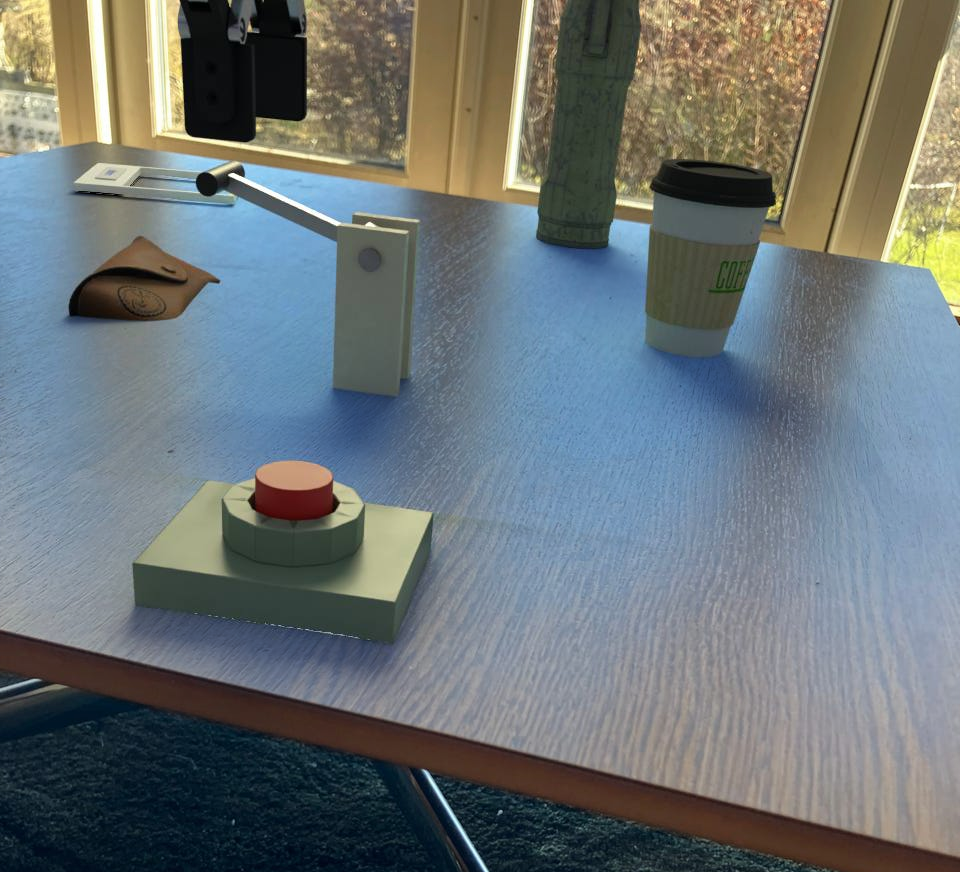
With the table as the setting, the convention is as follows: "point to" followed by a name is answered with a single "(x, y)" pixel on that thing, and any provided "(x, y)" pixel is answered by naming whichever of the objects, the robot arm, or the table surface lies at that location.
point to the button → (293, 490)
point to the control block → (287, 563)
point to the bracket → (375, 302)
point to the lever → (264, 198)
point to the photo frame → (123, 176)
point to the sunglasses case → (139, 285)
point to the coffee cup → (701, 251)
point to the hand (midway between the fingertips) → (250, 128)
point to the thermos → (588, 121)
